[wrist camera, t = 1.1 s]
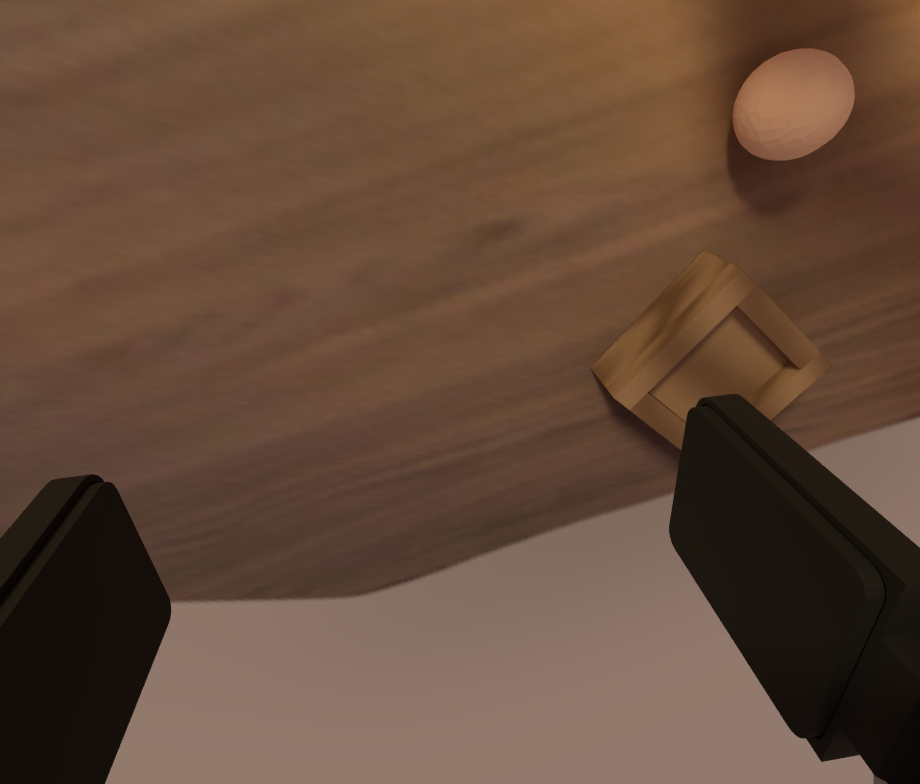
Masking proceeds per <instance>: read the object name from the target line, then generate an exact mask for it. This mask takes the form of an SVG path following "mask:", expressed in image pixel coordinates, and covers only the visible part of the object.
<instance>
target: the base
mask: <svg viewBox="0 0 920 784" xmlns="http://www.w3.org/2000/svg"><path fill="white" fill-rule="evenodd" d="M831 366H833V365H832V364H831V363H830V362H829V361H828V360H827V359H826V358H825V357H824V355H823V354H822V353H821V352H820V351H819V350H818V349H817V348H816V347H815V346H814V345H813V344H812V343H811V342H810V340H809V339H808V338H807V337H806V336H805V335H804V334H803V333H802V332H801V331H800V330H799V329H798V328H797V327H796V325H795V324H794V323H793V322H792V321H791V320H790V319H789V318H788V317H787V316H786V315H785V314H784V313H783V312H782V310H781V309H780V308H779V307H778V306H777V305H776V304H775V303H774V302H773V301H772V300H771V299H770V298H769V297H768V295H767V294H766V293H765V292H764V291H763V290H762V289H761V288H760V287H759V286H758V285H757V284H756V283H755V282H754V280H753V279H752V278H751V277H750V276H749V275H748V274H747V273H746V272H745V271H744V270H743V269H742V268H740V267H738V266H735V265H733V264H731V263H729V262H727V261H725V260H723V259H721V258H718V257H716V256H714V255H712V254H710V253H708V252H706V251H703V252H702V253H701V254H700V255H699V256H698V257H697V258H696V259H695V260H694V261H693V262H692V263H691V264H690V265H689V266H688V267H687V268H686V269H685V270H684V271H683V272H682V273H681V274H680V275H679V276H678V278H677V279H676V280H675V281H674V282H673V283H672V284H671V285H670V286H669V287H668V288H667V289H666V290H665V291H664V292H663V293H662V294H661V295H660V296H659V297H658V298H657V299H656V300H655V301H654V302H653V304H652V305H651V306H650V307H649V308H648V309H647V310H646V311H645V312H644V313H643V314H642V315H641V316H640V317H639V318H638V319H637V320H636V321H635V322H634V323H633V324H632V325H631V326H630V327H629V328H628V329H627V331H626V332H625V333H624V334H623V335H622V336H621V337H620V338H619V339H618V340H617V341H616V342H615V343H614V344H613V345H612V346H611V347H610V348H609V349H608V350H607V351H606V352H605V353H604V354H603V355H602V357H601V358H600V359H599V360H598V361H597V362H596V363H595V364H594V365H593V366H592V367H591V369H592V371H593V372H594V373H595V375H596V376H597V377H598V378H599V380H600V381H601V382H602V384H603V385H604V386H605V387H606V389H607V390H608V391H609V393H610V394H611V395H612V396H613V398H614V399H616V400H617V401H618V402H620V403H621V404H622V405H623V406H625V407H626V408H627V409H629V410H630V411H631V412H632V413H634V414H635V415H636V416H638V417H639V418H640V419H641V420H643V421H644V422H645V423H646V424H648V425H649V426H650V427H652V428H653V429H654V430H655V431H657V432H658V433H659V434H661V435H662V436H663V437H664V438H666V439H667V440H668V441H670V442H671V443H672V444H673V445H675V446H676V447H677V448H679V449H680V450H681V449H682V443H683V437H684V431H685V424H686V418H687V414H688V411H689V410H690V409H691V408H693V407H696V404H697V403H698V401H699V400H700V399H701V398H703V397H711V396H719V395H727V394H739V395H740V396H742V397H743V398H745V399H746V400H747V401H748V402H749V403H750V404H752V405H753V406H754V407H755V408H756V409H757V410H759V411H760V412H761V413H762V414H763V415H764V416H766V417H767V418H768V419H769V420H771V419H772V418H773V417H775V416H776V415H777V414H778V413H779V412H780V411H781V410H783V409H784V408H785V407H786V406H787V405H788V404H789V403H791V402H792V401H793V400H794V399H795V398H796V397H797V396H799V395H800V394H801V393H802V392H803V391H804V390H805V389H806V388H808V387H809V386H810V385H811V384H812V383H813V382H814V381H816V380H817V379H818V378H819V377H820V376H821V375H822V374H824V373H825V372H826V371H827V370H828V369H829V368H830V367H831Z"/></svg>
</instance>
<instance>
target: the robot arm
mask: <svg viewBox="0 0 920 784" xmlns="http://www.w3.org/2000/svg"><path fill="white" fill-rule="evenodd" d="M669 533H670V538H671V541H672V544H673V546H674V548H675V550H676V552H677V553H678V555H679V556H680V558H681V559H682V561H683V562H684V564H685V566H686V567H687V569H688V570H689V572H690V573H691V575H692V577H693V578H694V579H695V581H696V583H697V584H698V586H699V588H700V589H701V591H702V592H703V594H704V595H705V597H706V599H707V600H708V602H709V603H710V605H711V606H712V608H713V610H714V611H715V613H716V614H717V616H718V617H719V619H720V621H721V622H722V624H723V625H724V627H725V628H726V630H727V631H728V633H729V635H730V636H731V638H732V639H733V641H734V642H735V644H736V645H737V647H738V649H739V650H740V652H741V653H742V655H743V656H744V658H745V660H746V661H747V663H748V664H749V666H750V667H751V669H752V671H753V672H754V674H755V675H756V677H757V679H758V680H759V682H760V683H761V685H762V686H763V688H764V689H765V691H766V693H767V694H768V696H769V697H770V699H771V700H772V702H773V703H774V705H775V707H776V708H777V710H778V711H779V713H780V715H781V716H782V718H783V719H784V721H785V722H786V724H787V725H788V727H789V728H790V729H791V731H792V732H793V733H794V734H795V735H796V736H798V737H800V738H806V739H807V740H808V742H809V743H810V745H811V747H812V748H813V750H814V751H815V753H816V754H817V756H818V757H819V759H820V760H821V762H823V761H829V760H834V759H840V758H845V757H850V756H856V755H859V754H860V756H861V757H862V758H863V760H864V761H865V763H866V764H867V765H868V767H869V768H870V770H871V771H872V772H873V774H874V784H920V548H919V547H918V546H917V545H916V544H915V543H913V542H912V541H911V540H910V539H909V538H908V537H906V536H905V535H904V534H903V533H902V532H901V531H899V530H898V529H897V528H896V527H895V526H894V525H892V524H891V523H890V522H889V521H888V520H886V519H885V518H884V517H883V516H882V515H881V514H879V513H878V512H877V511H876V510H875V509H874V508H872V507H871V506H870V505H869V504H868V503H866V502H865V501H864V500H863V499H862V498H861V497H860V496H858V495H857V494H856V493H855V492H854V491H852V490H851V489H850V488H849V487H848V486H846V485H845V484H844V483H843V482H842V481H841V480H840V479H838V478H837V477H836V476H835V475H834V474H833V473H831V472H830V471H829V470H828V469H827V468H825V467H824V466H823V465H822V464H821V463H820V462H818V461H817V460H816V459H815V458H814V457H813V456H811V455H810V454H809V453H808V452H807V451H806V450H804V449H803V448H802V447H801V446H800V445H798V444H797V443H796V442H795V441H794V440H793V439H791V438H790V437H789V436H788V435H787V434H786V433H784V432H783V431H782V430H781V429H780V428H779V427H777V426H776V425H775V424H774V423H773V422H772V421H770V420H769V419H768V418H767V417H766V416H764V415H763V414H762V413H761V412H760V411H759V410H757V409H756V408H755V407H754V406H753V405H752V404H750V403H749V402H748V401H747V400H746V399H745V398H743V397H742V396H740V395H739V394H727V395H719V396H711V397H703V398H701V399H700V400H699V401H698V403H697V404H696V407H693V408H691V409H690V410H689V411H688V414H687V418H686V424H685V431H684V437H683V443H682V449H681V456H680V462H679V468H678V474H677V480H676V487H675V493H674V499H673V505H672V512H671V518H670V524H669ZM170 615H171V603H170V599H169V596H168V594H167V592H166V590H165V588H164V586H163V584H162V582H161V580H160V578H159V576H158V574H157V571H156V569H155V567H154V565H153V563H152V561H151V559H150V557H149V555H148V553H147V551H146V549H145V546H144V544H143V542H142V540H141V538H140V536H139V534H138V532H137V530H136V528H135V526H134V524H133V521H132V519H131V517H130V515H129V513H128V511H127V509H126V507H125V505H124V503H123V501H122V499H121V497H120V494H119V492H118V490H117V489H116V487H115V485H113V484H112V483H110V482H104V481H103V479H102V478H101V477H99V476H98V475H93V474H92V475H84V476H76V477H68V478H60V479H55V480H51V481H50V482H49V483H48V484H46V485H45V487H44V488H43V489H42V490H41V491H40V492H39V494H38V495H37V496H36V497H35V498H34V500H33V501H32V502H31V503H30V504H29V505H28V507H27V508H26V509H25V510H24V511H23V512H22V514H21V515H20V516H19V517H18V518H17V520H16V521H15V522H14V523H13V524H12V525H11V527H10V528H9V529H8V530H7V531H6V533H5V534H4V535H3V536H2V537H1V538H0V784H105V782H106V779H107V777H108V774H109V772H110V769H111V767H112V764H113V762H114V759H115V757H116V754H117V752H118V749H119V747H120V744H121V742H122V739H123V737H124V734H125V732H126V729H127V726H128V724H129V722H130V719H131V717H132V714H133V712H134V709H135V707H136V704H137V702H138V699H139V697H140V694H141V691H142V689H143V687H144V684H145V682H146V679H147V677H148V674H149V671H150V669H151V666H152V664H153V661H154V659H155V656H156V654H157V651H158V649H159V646H160V644H161V641H162V639H163V636H164V634H165V631H166V629H167V626H168V624H169V621H170Z"/></svg>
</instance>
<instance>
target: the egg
mask: <svg viewBox="0 0 920 784" xmlns="http://www.w3.org/2000/svg"><path fill="white" fill-rule="evenodd" d="M854 99H855V93H854V83H853V79H852V76H851V74H850V72H849V71H848V69H847V68H846V66H845V65H844V64H843V63H842V62H841V61H840V60H839V59H838V58H837V57H836V56H834V55H832V54H830V53H828V52H825V51H822V50H818V49H814V48H801V49H795V50H790V51H786V52H783V53H779V54H778V55H776V56H774V57H772V58H770V59H768V60H767V61H765V62H763V63H762V64H761V65H760V66H759V67H758V68H757V69H755V70H754V71H753V72H752V73H751V74H750V75H749V77H748V78H747V79H746V81H745V82H744V84H743V85H742V87H741V89H740V90H739V92H738V95H737V98H736V100H735V103H734V108H733V115H732V118H733V128H734V131H735V134H736V137H737V139H738V140H739V142H740V144H741V145H742V146H743V147H744V148H745V149H746V150H747V151H748V152H750V153H751V154H753V155H755V156H757V157H759V158H762V159H767V160H773V161H786V160H791V159H796V158H800V157H803V156H805V155H808V154H810V153H812V152H813V151H815V150H817V149H818V148H820V147H821V146H823V145H824V144H826V143H827V142H829V141H830V140H831V139H832V138H833V137H834V136H835V135H836V134H837V133H838V132H839V131H840V129H841V128H842V127H843V126H844V124H845V123H846V121H847V119H848V118H849V116H850V113H851V111H852V108H853V104H854Z"/></svg>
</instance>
